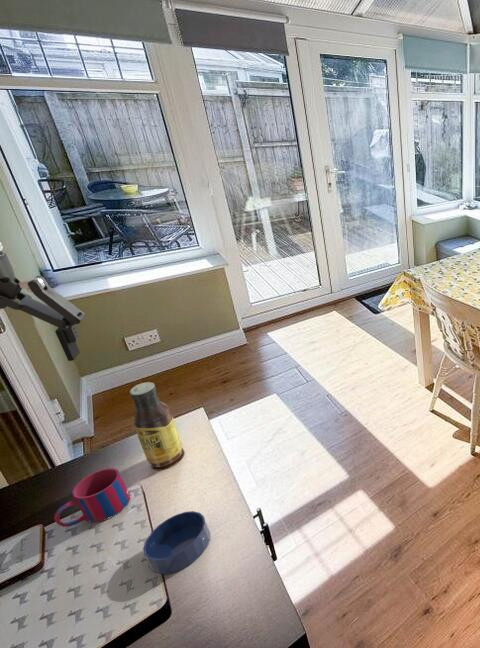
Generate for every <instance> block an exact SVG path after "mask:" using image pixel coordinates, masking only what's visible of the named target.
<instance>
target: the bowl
mask: <svg viewBox="0 0 480 648" xmlns="http://www.w3.org/2000/svg"><path fill="white" fill-rule="evenodd" d="M210 541H211V531H210V528H209V526H208V523H207V521H206V518H205V515H203V514H202V513H201V512H199V511H194V510H192V511H191V510H189V511H183V512H180V513H177V514H175V515H172V516H171V517H169V518H166V519H165V520H164V521H163V522H162V523H160V524H158V525H157V526H156V527H155V528H154V529H153V530H152V531H151V532H150V534H149V535H148V536H147V538H146V540H145V542H144V544H143V547H142V549H143V555H144V557H145V559H146V561H147V563H148V566H149V567H150V569H151V570H152V572H154V573H155V574H158V575H171V574H174V573H178V572H180V571H182V570H184V569H186V568H188V567H189V566H190V565H192V564H193V563H195V562H196V561H197V560H198V559H199V558H200V557H201V556H202V555H203V554H204V552H205V551H206V550H207V548H208V546H209V544H210Z"/></svg>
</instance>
